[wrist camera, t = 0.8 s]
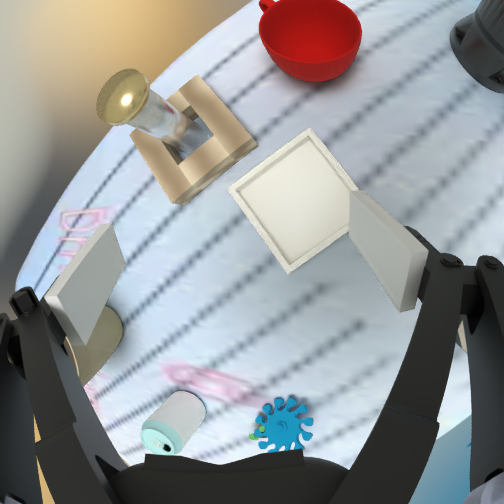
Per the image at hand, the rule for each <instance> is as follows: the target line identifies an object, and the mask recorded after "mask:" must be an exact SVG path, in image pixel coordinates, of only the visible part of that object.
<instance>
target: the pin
mask: <svg viewBox="0 0 504 504" xmlns="http://www.w3.org/2000/svg"><path fill="white" fill-rule="evenodd" d="M97 114H98V116H99V118H100V119H101V120H103V121H105V122H107V123H109V124H112V125H115V126H119V125H124V124H129V125H131V126H133V127H135V128H137V129H139V130H141V131H143V132H145V133H147V134H149V135H151V136H153V137H155V138H157V139H159V140H161V141H163V142H165V143H167V144H169V145H171V146H173V147H175V148H177V149H179V150H181V151H183V152H185V153H186V154H188V155H191V154H192V153H193V152H194V151H195V150H196V149H198V148H199V147H200V146H201V145H202V144H204V143H205V142H206V141H207V140H209V136H208V133H207V132H206V131H205V130H204V129H203V128H201V127H200V126H199V125H197V124H196V123H195V122H194V121H192V120H191V119H190V118H188V117H187V116H186V115H184V114H183V113H182V112H181V111H179V110H178V109H177V108H175V107H174V106H173V105H171V104H170V103H169V102H167V101H166V100H165V99H163V98H162V97H160V96H159V95H158V94H156V93H155V92H154V91H152V90H151V89H150V84H149V81H148V79H147V78H146V77H145V76H144V75H143V74H141V73H140V72H139V71H137V70H135V69H125V70H122V71H120V72H118V73H116V74H115V75H113V76H112V77H111V78H110V79H109V80H108V81H107V82H106V83H105V85H104V86H103V88H102V89H101V92H100V94H99V96H98V99H97Z"/></svg>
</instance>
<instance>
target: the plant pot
mask: <svg viewBox="0 0 504 504" xmlns="http://www.w3.org/2000/svg"><path fill="white" fill-rule="evenodd" d="M122 335H123V327H122V323H121V320H120V318H119V316H118V315H117V313H116V312H115V311H114V310H113V309H111V308H110V307H108V306H104V308H103V310H102V312H101V314H100V316H99V318H98V321H97V323H96V325H95V327H94V329H93V331H92V333H91V336H90V338H89V340H88V342H87V345H86V346H73V345H72V344H71V342H70V341H69V339H68V338H67V336H66V338H65V340H64V344H65V345H66V347H67V348H68V351H69V354H70V356H71V359H72V361H73V364H74V367H75V369H76V371H77V374H78V376H79V379H80V381H81V383H82V385H83V387H84V386H85V385H86V384H87V383H88V382H89V381H90V380H91V379H92V378H93V377H94V376H95V374H96V373H97V372H98V371H99V370H100V369H101V368H102V366H103V365H104V364H105V363H106V361H107V360H108V359H109V357H110V356H111V354H112V353H113V351H114V350H115V348H116V347H117V345H118V343H119V342H120V340H121V338H122Z"/></svg>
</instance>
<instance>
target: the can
mask: <svg viewBox="0 0 504 504" xmlns="http://www.w3.org/2000/svg"><path fill="white" fill-rule="evenodd" d="M205 415H206V410H205V407H204V405H203V403H202V402H201V401H200V400H199V399H198V398H197V397H196V396H194V395H193V394H191V393H189V392H185V391H177V392H175V393H173V394H172V395H171V396H170V397H169V398H168V399H167V400H166V401H165V402H164V403H163V404H162V405H161V406H160V407H159V408H158V409H157V410H156V411H155V412H154V413H153V414H152V415H151V416H150V417H149V418H148V419H147V420H146V421H145V422H144V423H143V425H142V431H141V434H140V437H141V440H142V442H143V444H144V445H145V447H146V448H147V449H148V450H150V451H151V452H152V453H154V454H157V455H173V454H177V453H179V452H181V450H182V449H183V448H184V446H185V445H186V443H187V442H188V441H189V439H190V438H191V436H192V435H193V434H194V432H195V431H196V429H197V428H198V426H199V425H200V424H201V422H202V421H203V419H204V418H205Z"/></svg>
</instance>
